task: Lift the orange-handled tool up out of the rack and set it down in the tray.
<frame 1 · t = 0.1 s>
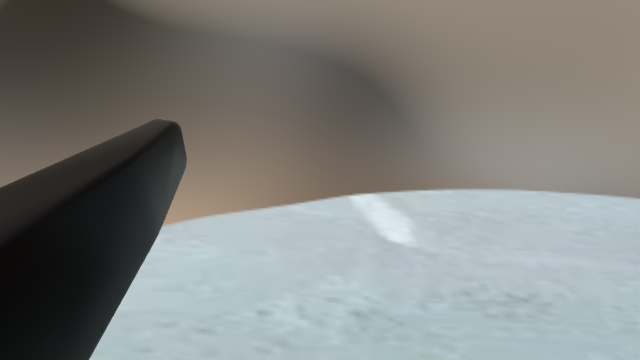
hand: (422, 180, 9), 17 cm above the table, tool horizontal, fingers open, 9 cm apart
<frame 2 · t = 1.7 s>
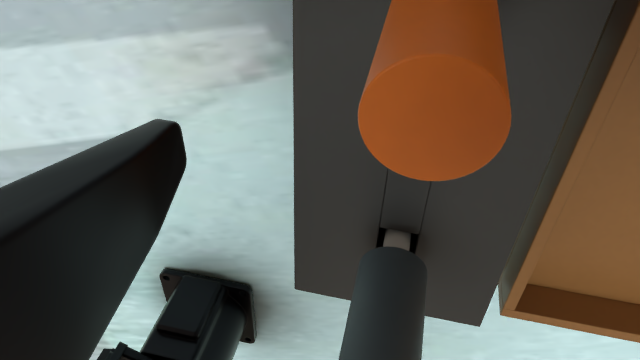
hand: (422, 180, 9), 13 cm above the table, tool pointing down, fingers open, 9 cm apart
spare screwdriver: (403, 195, 26), resting in rack
rack: (421, 97, 22), on the table
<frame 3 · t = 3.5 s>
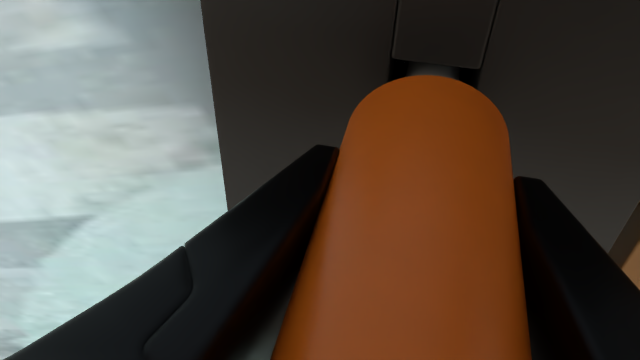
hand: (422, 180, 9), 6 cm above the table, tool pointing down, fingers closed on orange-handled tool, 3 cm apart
orange-handled tool: (437, 35, 13), resting in rack, touching gripper
rack: (405, 197, 17), on the table
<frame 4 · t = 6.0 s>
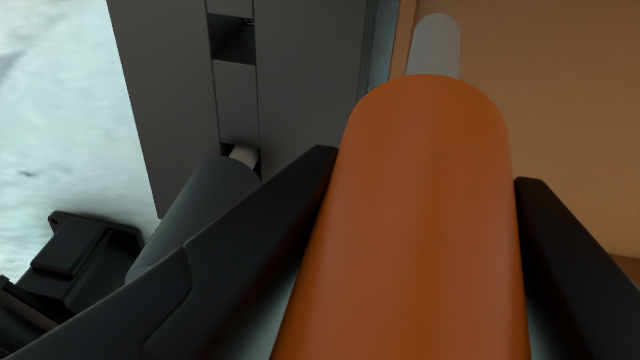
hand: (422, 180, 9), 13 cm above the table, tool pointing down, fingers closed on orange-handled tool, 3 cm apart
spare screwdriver: (264, 120, 25), resting in rack
orange-handled tool: (436, 34, 13), point 7 cm above the table, touching gripper
rack: (260, 5, 21), on the table
tray: (581, 47, 19), on the table
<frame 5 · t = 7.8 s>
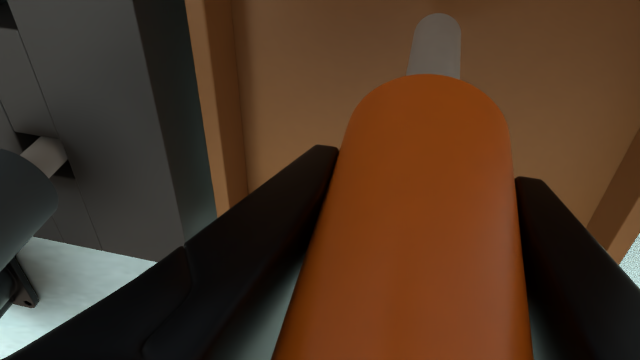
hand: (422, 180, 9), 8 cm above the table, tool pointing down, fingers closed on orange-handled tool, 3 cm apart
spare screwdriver: (98, 105, 21), resting in rack
orange-handled tool: (437, 34, 13), point 2 cm above the table, touching gripper
tray: (444, 1, 15), on the table
when the fingers open (7 cm above the table, at t = 8.7 s): orange-handled tool stays where it is, resting on tray.
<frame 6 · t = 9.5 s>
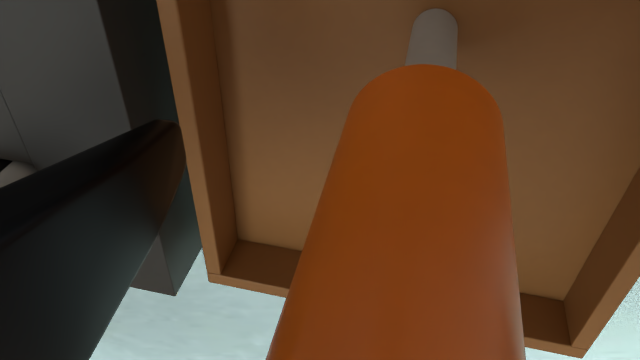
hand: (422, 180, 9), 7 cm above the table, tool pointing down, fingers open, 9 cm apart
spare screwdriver: (78, 125, 20), resting in rack
orange-handled tool: (434, 29, 14), point 1 cm above the table, touching tray
tray: (438, 21, 14), on the table
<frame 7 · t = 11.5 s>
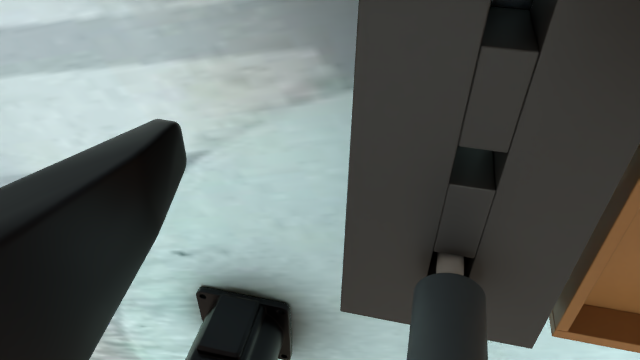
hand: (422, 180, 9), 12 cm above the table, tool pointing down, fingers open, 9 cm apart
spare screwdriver: (451, 215, 25), resting in rack
rack: (476, 119, 22), on the table
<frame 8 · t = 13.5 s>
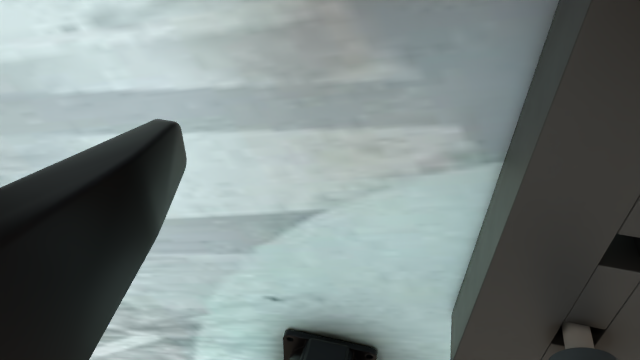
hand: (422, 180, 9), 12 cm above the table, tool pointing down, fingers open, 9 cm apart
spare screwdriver: (566, 278, 26), resting in rack
rack: (612, 195, 22), on the table
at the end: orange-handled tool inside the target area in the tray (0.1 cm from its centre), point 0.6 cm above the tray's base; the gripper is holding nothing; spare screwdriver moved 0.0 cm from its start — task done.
